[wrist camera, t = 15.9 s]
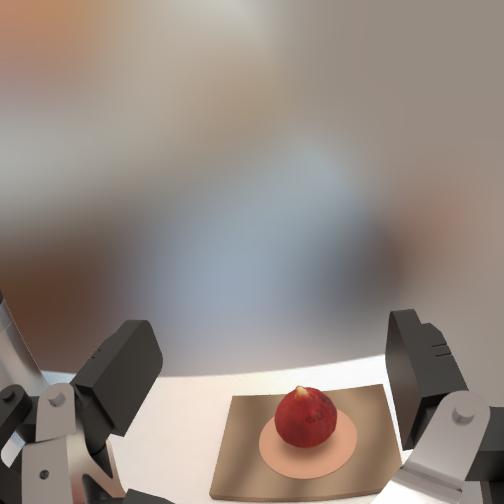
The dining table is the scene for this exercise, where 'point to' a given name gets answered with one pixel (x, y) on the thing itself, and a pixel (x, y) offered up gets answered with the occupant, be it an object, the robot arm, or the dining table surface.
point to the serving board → (307, 452)
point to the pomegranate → (305, 417)
